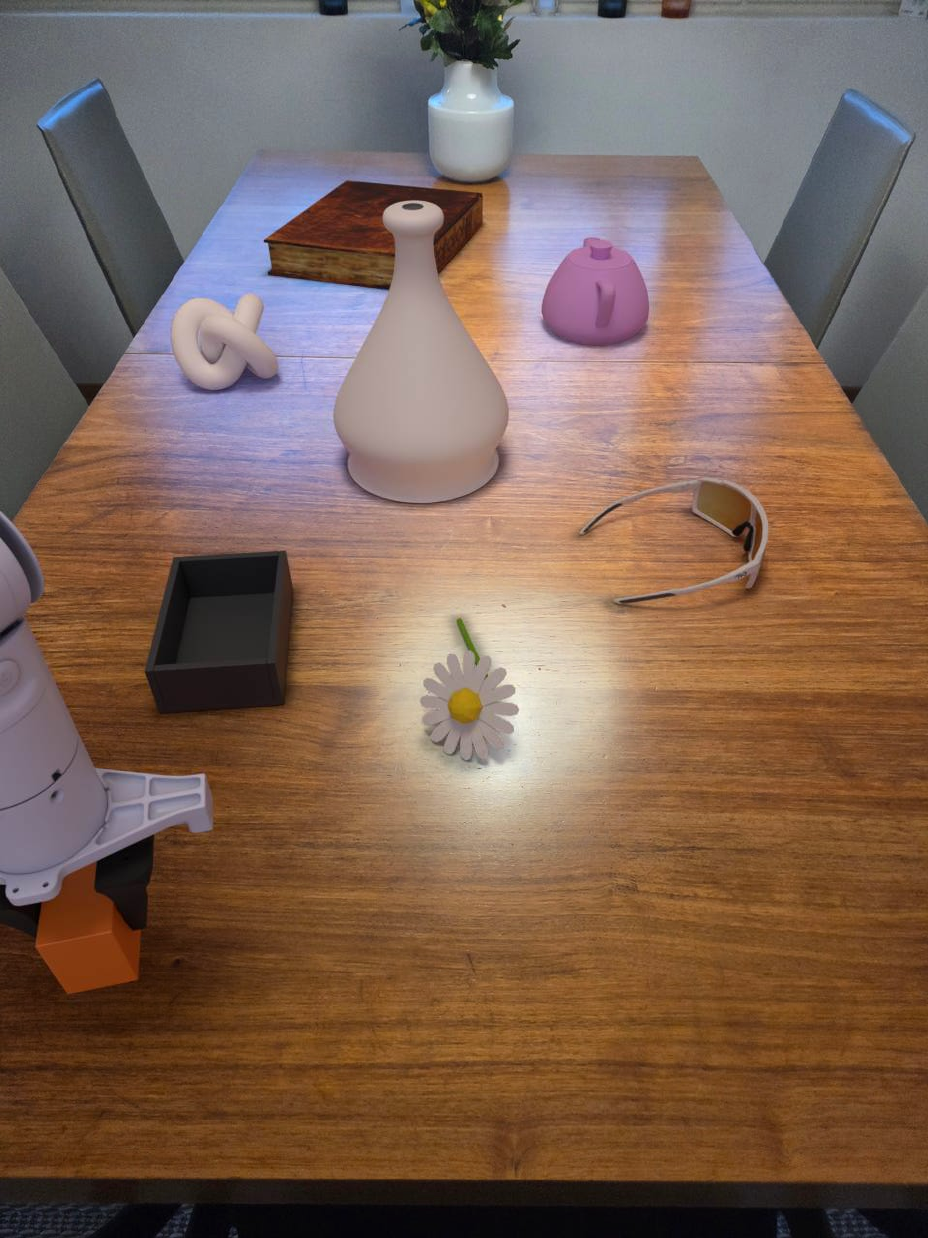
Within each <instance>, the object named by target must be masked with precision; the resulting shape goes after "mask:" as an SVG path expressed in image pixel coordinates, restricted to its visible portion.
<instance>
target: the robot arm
mask: <svg viewBox="0 0 928 1238" xmlns="http://www.w3.org/2000/svg"><path fill="white" fill-rule="evenodd" d="M44 577H45V576H44V573H43V570H42V567H41V565H40V562H39V560H38V558H37V556H36V554H35V552H34V551H33V549H32V547H31V545H30V544H29V542H28V541H27V540H26V538H25V537H24V535H23V534H22V533H21V532H20V530H19V529H18V528H17V527H16V525H15V524H14V523H13V522H12V521H11V519H10V518H9V517H7V516H6V515H5V514H4V513H3V512H2V511H1V510H0V925H3V926H7V927H10V928H13V929H16V930H18V931H20V932H22V933H24V934H26V935H28V936H30V937H31V938H34V939H36V938H37V931H38V924H39V917H40V911H41V904H42V902H43V901H48V900H51V899H53V898H55V897H56V896H57V895H58V894H59V892H60V890H61V887H62V881H63V878H64V877H65V876H66V875H68V874H70V873H72V872H74V871H77V870H79V869H81V868H83V867H85V866H87V865H89V864H91V863H93V862H96V861H97V864H96V874H95V883H94V889H95V891H96V893H100V894H103V895H105V896H107V897H108V898H109V899H111V900H112V901H113V902H114V903H115V905H116V906H117V907H118V908H119V910H120V912H121V914H122V916H123V919H124V921H125V923H126V924H127V925H128V926H129V927H130V928H131V929H132V930H133V931H135V930H140V929H141V930H145V929H146V928H147V923H148V908H149V907H148V906H149V904H148V903H149V895H148V891H147V887H148V885H149V884H150V882H151V878H152V873H153V867H154V852H155V851H154V850H155V849H154V848H155V834H157V833H160V832H161V831H164V830H166V829H168V828H170V827H174V826H180V825H187V827H188V829H189V832H191V833H192V834H198V833H204V832H208V831H212V830H213V829H214V798H213V793H212V791H211V787H210V785H209V782H208V779H207V775H206V773H204V772H203V773H197V774H196V773H195V774H189V775H167V774H158V773H157V774H155V773H146V772H138V771H137V772H136V771H127V770H119V769H109V768H100V767H95V766H94V764H93V761H92V759H91V757H90V755H89V753H88V750H87V749H86V745H85V744H84V742H83V739H82V738H81V735H80V733H79V730H78V729H77V726H76V724H75V722H74V720H73V718H72V716H71V715H72V714H71V713H70V711H69V709H68V707H67V705H66V703H65V701H64V698H63V696H62V693H61V692H60V689H59V687H58V685H57V683H56V681H55V679H54V676H53V674H52V672H51V670H50V667H49V666H48V664H47V661H46V659H45V657H44V655H43V653H42V650H41V648H40V646H39V644H38V641H37V639H36V637H35V635H34V632H33V631H32V629H31V626H30V624H29V621H28V619H27V618H26V617H25V614H27V612H28V611H29V609H30V608H31V604H35V603H36V602H38V601H39V600H40V599H41V598H42V596H43V595H44V592H45V591H44V590H45V579H44Z"/></svg>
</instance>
